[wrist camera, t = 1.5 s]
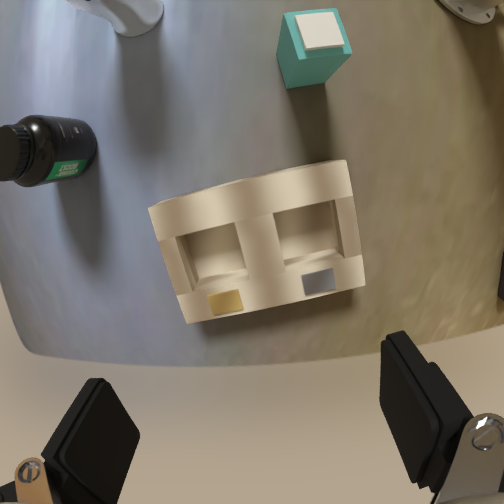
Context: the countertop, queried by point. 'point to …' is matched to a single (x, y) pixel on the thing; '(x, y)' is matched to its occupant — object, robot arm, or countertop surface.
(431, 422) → the robot arm
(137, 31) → the beer glass
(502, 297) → the electronic device
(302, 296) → the socket block
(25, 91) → the countertop surface
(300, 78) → the plug
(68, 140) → the supplement bottle
